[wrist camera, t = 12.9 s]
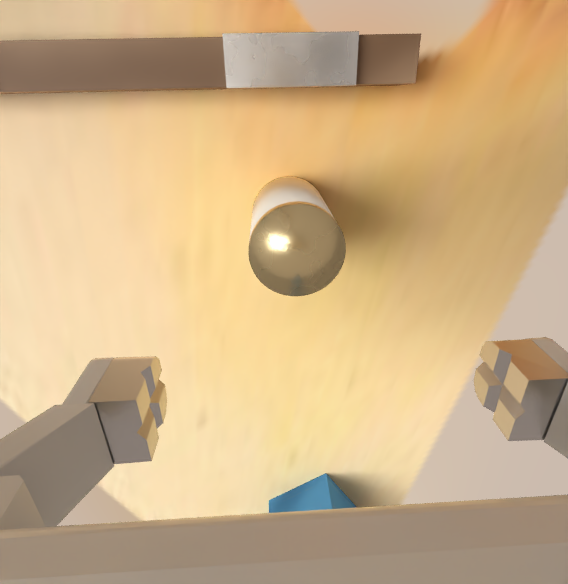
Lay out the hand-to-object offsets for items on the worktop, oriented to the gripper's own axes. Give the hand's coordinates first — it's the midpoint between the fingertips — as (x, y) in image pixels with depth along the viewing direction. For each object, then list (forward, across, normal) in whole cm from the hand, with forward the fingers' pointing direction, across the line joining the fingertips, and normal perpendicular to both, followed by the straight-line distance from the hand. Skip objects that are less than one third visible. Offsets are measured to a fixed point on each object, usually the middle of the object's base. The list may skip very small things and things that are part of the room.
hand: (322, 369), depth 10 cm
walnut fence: (+16, +7, -7) cm, 19 cm away
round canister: (+16, 0, 0) cm, 16 cm away
